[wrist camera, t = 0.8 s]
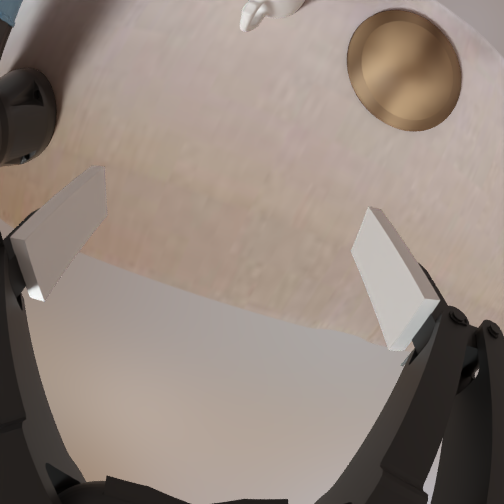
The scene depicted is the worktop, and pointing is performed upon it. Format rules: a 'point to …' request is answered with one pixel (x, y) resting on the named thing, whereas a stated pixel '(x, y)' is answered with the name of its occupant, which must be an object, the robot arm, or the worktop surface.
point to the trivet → (404, 70)
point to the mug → (266, 11)
